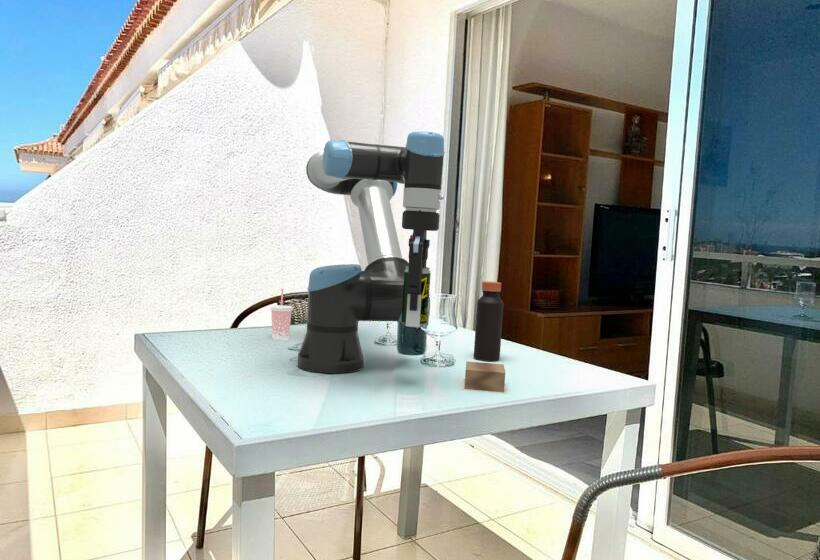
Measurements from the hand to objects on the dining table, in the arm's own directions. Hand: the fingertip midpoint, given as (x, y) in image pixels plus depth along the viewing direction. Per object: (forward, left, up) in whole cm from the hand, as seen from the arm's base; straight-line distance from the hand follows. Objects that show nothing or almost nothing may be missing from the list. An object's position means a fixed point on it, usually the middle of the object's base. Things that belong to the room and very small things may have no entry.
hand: (414, 323), depth 124 cm
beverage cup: (-41, +39, -13) cm, 58 cm away
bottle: (+16, +34, -13) cm, 40 cm away
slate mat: (+12, +3, -13) cm, 18 cm away
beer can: (0, 0, -1) cm, 1 cm away
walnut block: (+15, +3, -12) cm, 20 cm away
